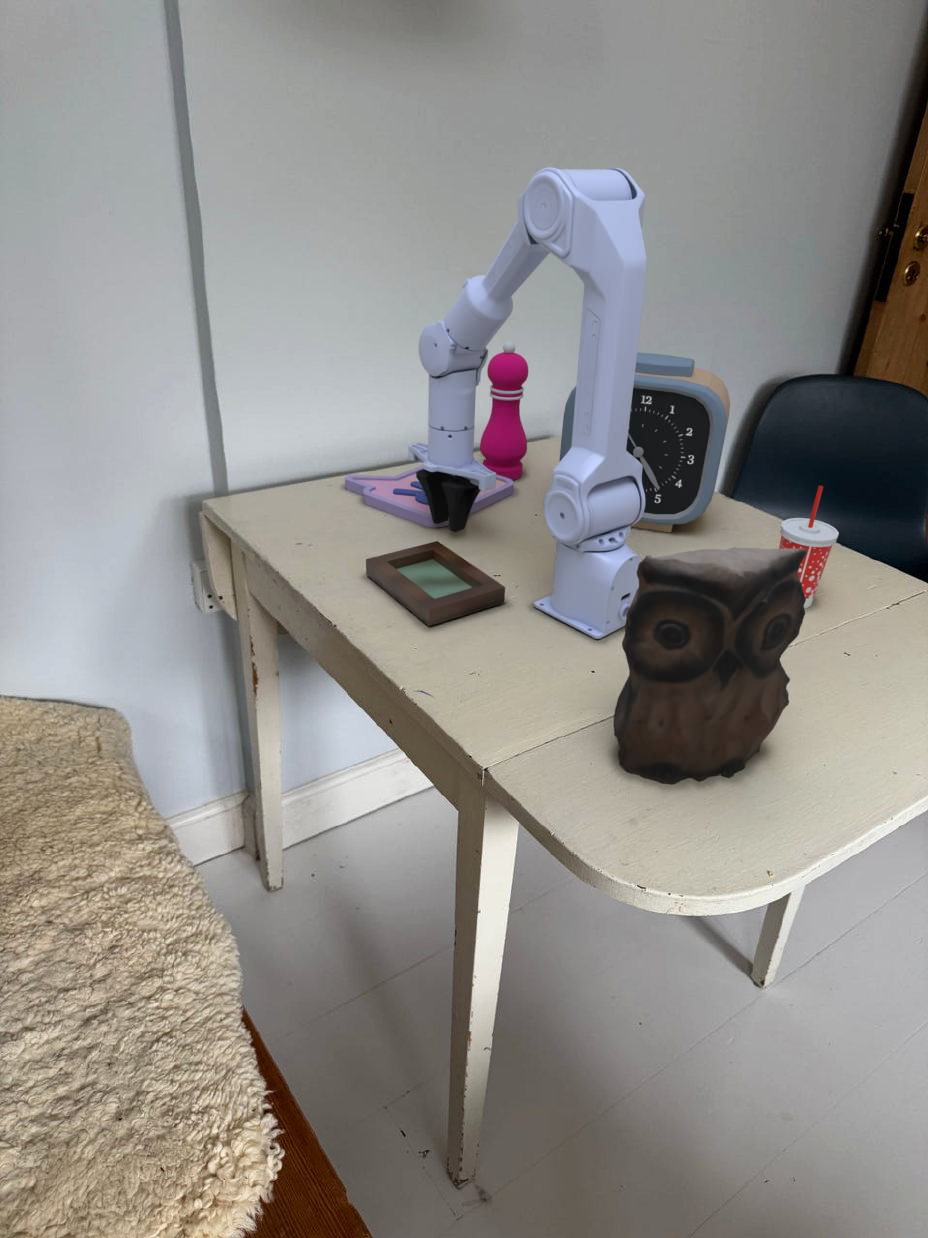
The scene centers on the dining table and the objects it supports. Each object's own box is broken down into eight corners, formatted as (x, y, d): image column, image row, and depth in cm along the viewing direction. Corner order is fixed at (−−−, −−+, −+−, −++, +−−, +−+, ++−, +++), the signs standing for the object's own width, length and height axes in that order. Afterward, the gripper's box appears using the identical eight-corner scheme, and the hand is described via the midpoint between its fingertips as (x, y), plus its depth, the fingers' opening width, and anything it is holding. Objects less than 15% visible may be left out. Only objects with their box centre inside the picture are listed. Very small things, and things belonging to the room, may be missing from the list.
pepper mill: (503, 462, 135) (511, 334, 125) (534, 476, 130) (545, 343, 120) (469, 471, 131) (474, 339, 121) (500, 485, 126) (507, 349, 116)
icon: (417, 450, 134) (519, 481, 124) (417, 458, 135) (519, 490, 125) (330, 481, 121) (436, 520, 111) (331, 491, 122) (436, 530, 111)
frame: (504, 602, 94) (505, 586, 93) (429, 626, 89) (429, 609, 88) (437, 555, 104) (437, 540, 103) (366, 574, 99) (365, 558, 98)
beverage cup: (816, 591, 100) (847, 480, 93) (821, 616, 95) (854, 500, 88) (763, 583, 101) (789, 473, 94) (764, 607, 96) (793, 492, 89)
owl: (779, 750, 74) (837, 543, 64) (715, 827, 65) (771, 603, 55) (651, 693, 81) (686, 498, 70) (578, 756, 72) (606, 545, 62)
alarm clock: (553, 517, 117) (567, 358, 106) (567, 493, 124) (582, 343, 113) (704, 541, 111) (736, 376, 100) (709, 514, 119) (739, 359, 108)
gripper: (389, 416, 106) (390, 516, 113) (467, 445, 97) (463, 552, 103) (431, 406, 110) (430, 503, 117) (510, 434, 101) (504, 537, 108)
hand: (449, 525), depth 110 cm, fingers open, 3 cm apart
